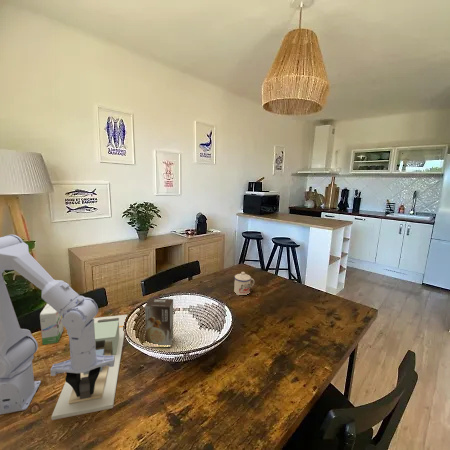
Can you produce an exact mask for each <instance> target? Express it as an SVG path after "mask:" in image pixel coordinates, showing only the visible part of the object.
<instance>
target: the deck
mask: <svg viewBox="0 0 450 450" xmlns="http://www.w3.org/2000/svg"><path fill="white" fill-rule="evenodd" d="M126 317H127V318H128V314H121V315H110V316H101V317H94V318H93V319H94V323H100V322H109V321H118V320H119V342H118V347H117V353H116V355H114V356H115V363H114V366H113V367H110V366H109V367H108V372H107V377H106V381H105V386H104V391H103V396H102V397H101V398H96V399H90V400H85V401H80V402H74V403H69V404H68V401H69V398H70V396H71V393H72V390H73V388H72V387H71V385H69V384H68V383H67V382H66V381H65V382H64V384H63V387H62V390H61V392H60V395H59V397H58V400H57V402H56V404H55V407H54V409H53V411H52V414H51V420H52V421H55V420H59V419H64V418H69V417H74V416H80V415H84V414H89V413H94V412H99V411H104V410H110V409H113V408H114V404H115V397H116V390H117V384H118V379H119V373H120V372H119V371H120V367H121V366H120V364H121V359H122V352H123V347H124V339H125V334H124V331H123V326H124V322H125V319H126ZM107 342H112V339H110V340H105V343H107ZM95 344H96V341H95ZM111 356H113V349H112V353H111Z"/></svg>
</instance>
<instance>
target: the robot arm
mask: <svg viewBox="0 0 450 450" xmlns="http://www.w3.org/2000/svg"><path fill="white" fill-rule="evenodd" d="M29 251H30V250H29V245H28V243H26V242H24V240H23V239H22V238H21V237H19V235H16V234H7V235H4V236H1V237H0V415H5V414H10V413H16V412H21V411H25V410H27V409H28V407H29V406H30V404H31V402H32V400H33V398H34V397H35V394H36V392H38V388H39V387H40V386H41V383H42V382H41V380H35V379H34V377H35V376H34V369H33V368H34V367H33V359H34V358H35V357H34V355H35V353H36V352H37V351H38V349H39V344H38V341H37V339H35V338H34V336H33V335H32V332H31V330H29V329H27V328H21V326H20V324H19V321H18V317H17V315H16V312H15V309H14V305H13V303H12V300H11V298H10V294H9V291H8V287H7V285H6V282H5V279H4V277H3V274H4V272H5V271H15V272H17V273H18V274H19V275H20V276H22V277H23V278H24V279H25V280H27V281H29V282H30V283H31V284H32V285H34V286H35V287H36V288H37V289H39V290H40V291H41V299H42V300H43V301H44V302H45V303H46V304H49V305H50V306H51V307H52V308H53V309H55V310H56V311H57V312H58V313H59V314H60V315H61V316H62V317H63V319H61V321H62V324H63V328H65V330H66V334H67V335H68V339H69V340H68V341H69V344H68V345H69V354H70V355H69V357H70V359H68V360H64V361H62V362H58V363H52V367H50V377H54V376H57V374H63V373H66V375H65V379H64V381H65V382H67V383H68V384H69V385H71V387H72V388H73V389H74V391H75V393H76V396H77V397H80V390H79V384H80V381H81V373H84V372H87V371H89V374H88V379H89V383H90V395H91V394H93V393H94V389H95V382H96V380H97V378H98V375H99V372H100V369H101V367H103V366H110V367H113V366H114V363H115V356H114V355H113V356H105V355H96V347H95V328H94V319H93V318H96V316H97V314H98V313H99V307H98V304H97V303H96V301H95V300H94V299H92V298H91V297H86V296H83V295H80V294H79V293H78V292H76V291H75V290H74V289H73V288H72V287H71V286H70V284H69V283H68V282H65V281H64V280H62V279H61V280H60V279H54V278H53V277H52V276H51V274H49V272H48V271H46V269H45V268H44V267H43V266H42V265H41V264H40V263H39V262H38V261H37V260H36V259H35V258H34V257H33V255H32V254H30V252H29Z"/></svg>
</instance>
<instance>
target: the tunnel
mask: <svg viewBox="0 0 450 450" xmlns="http://www.w3.org/2000/svg"><path fill="white" fill-rule="evenodd" d="M94 328H95V341H102V340H110V339H112V348H113V355H116V353H117V347H118V342H119V320H118V321H109V322H100V323H94Z"/></svg>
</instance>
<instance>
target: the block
mask: <svg viewBox="0 0 450 450" xmlns="http://www.w3.org/2000/svg"><path fill="white" fill-rule="evenodd" d="M96 355H104V349H100V350H96ZM102 369H103V367H101V369H100V372H102ZM83 374H89V371H87V372H84V373H83Z"/></svg>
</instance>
